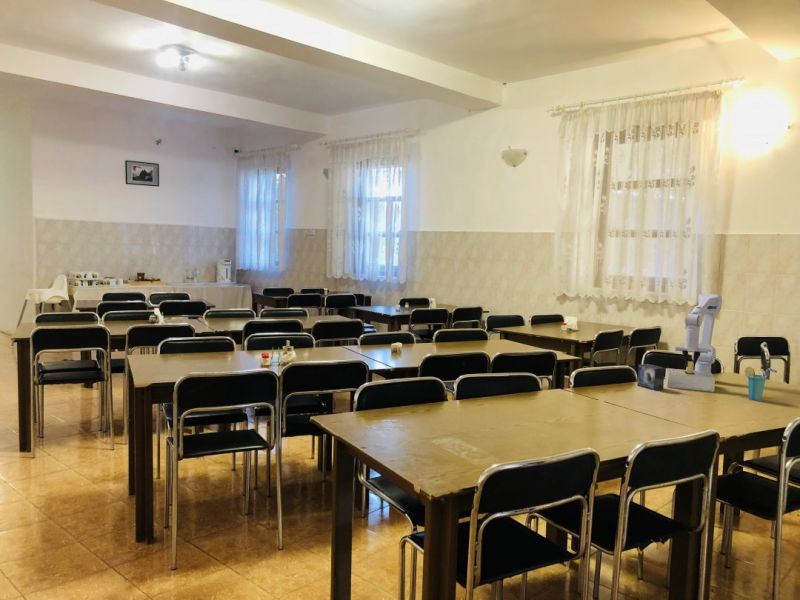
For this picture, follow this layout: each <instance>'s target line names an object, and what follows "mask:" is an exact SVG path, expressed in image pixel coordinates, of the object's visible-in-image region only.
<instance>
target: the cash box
mask: <svg viewBox="0 0 800 600" xmlns="http://www.w3.org/2000/svg"><path fill="white" fill-rule="evenodd" d="M665 381H666V382H665ZM664 382H665V384H667V385H666V387H667V388H669V387H670V388H671V389H681V390H691V391H701V392H710V393H711V392H712V393H714V392H715V383H716V378H715V376H714V375H713V373H712V372H703V371H695V370H693V374H691V373H687V372H686V369H679V368H677V369H676V368H669V367H667V368H665V374H664ZM670 388H669V389H670Z"/></svg>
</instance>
